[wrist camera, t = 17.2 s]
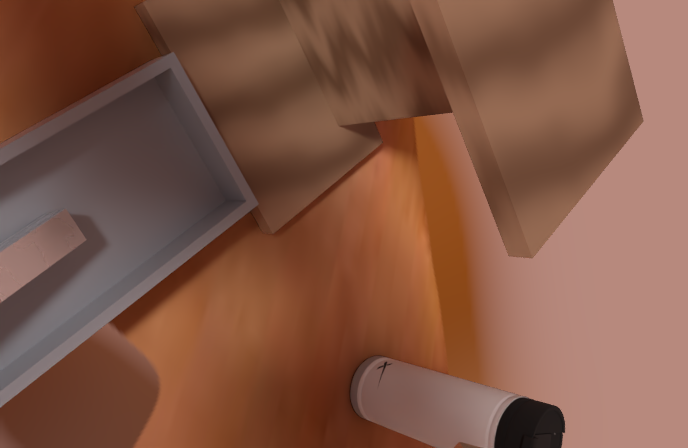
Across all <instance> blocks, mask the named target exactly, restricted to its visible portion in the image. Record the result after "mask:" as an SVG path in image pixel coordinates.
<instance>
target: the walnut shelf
mask: <svg viewBox="0 0 688 448" xmlns="http://www.w3.org/2000/svg"><path fill="white" fill-rule="evenodd" d="M134 8H135V9H136V11H137V13H138V15H139V16H140V18H141V20H142V22H143V23H144V25H145V27H146V29H147V30H148V32H149V34H150V36H151V37H152V39H153V41H154V43H155V44H156V46H157V48H158V50H159V51H160V53H161V55H162V56H164V55H167V54H169V53H172V52H174V53H175V55H176V57H177V59H178V60H179V62H180V64H181V66H182V68H183V69H184V71H185V73H186V75H187V77H188V78H189V80H190V82H191V84H192V85H193V87H194V89H195V91H196V93H197V94H198V96H199V98H200V100H201V102H202V103H203V105H204V107H205V109H206V110H207V112H208V114H209V116H210V118H211V119H212V121H213V123H214V125H215V127H216V128H217V130H218V132H219V134H220V135H221V137H222V139H223V141H224V143H225V144H226V146H227V148H228V150H229V151H230V153H231V155H232V157H233V159H234V160H235V162H236V164H237V166H238V168H239V169H240V171H241V173H242V175H243V176H244V178H245V180H246V182H247V184H248V185H249V187H250V189H251V191H252V193H253V194H254V196H255V198H256V200H257V201H258V203H259V204H258V205H257V206H256V207H255V208H253V209H252V210H251V213H252V215H253V216H254V218H255V220H256V222H257V223H258V225H259V227H260V229H261V231H262V232H263V233H266V234H274V233H275V232H276V231H278V230H279V229H280V228H281V227H282V226H283V225H285V224H286V223H287V222H288V221H289V220H291V219H292V218H293V217H294V216H295V215H297V214H298V213H299V212H300V211H301V210H303V209H304V208H305V207H306V206H307V205H309V204H310V203H311V202H312V201H313V200H315V199H316V198H317V197H318V196H319V195H321V194H322V193H323V192H324V191H325V190H327V189H328V188H329V187H330V186H331V185H333V184H334V183H335V182H336V181H337V180H339V179H340V178H341V177H342V176H343V175H345V174H346V173H347V172H348V171H349V170H351V169H352V168H353V167H354V166H355V165H357V164H358V163H359V162H360V161H361V160H363V159H364V158H365V157H366V156H367V155H369V154H370V153H371V152H372V151H373V150H375V149H376V148H377V147H378V146H379V145H381V144H382V143H383V141H382V139H381V136H380V134H379V132H378V130H377V127H376V125H375V123H374V122H376V121H384V120H393V119H401V118H410V117H417V116H427V115H435V114H443V113H452V112H453V113H454V116H455V119H456V121H457V124H458V126H459V129H460V131H461V134H462V136H463V139H464V142H465V144H466V147H467V150H468V152H469V155H470V157H471V160H472V162H473V165H474V167H475V170H476V173H477V175H478V178H479V181H480V183H481V186H482V188H483V191H484V193H485V196H486V198H487V201H488V204H489V206H490V209H491V211H492V214H493V217H494V219H495V222H496V224H497V227H498V230H499V232H500V235H501V237H502V240H503V242H504V245H505V247H506V250H507V253H508V255H509V256H513V257H525V258H533V257H534V256H535V255H536V253H537V252H538V251H539V249H540V248H541V247H542V246H543V245H544V243H545V242H546V241H547V240H548V238H549V237H550V236H551V235H552V233H553V232H554V231H555V230H556V229H557V227H558V226H559V225H560V223H561V222H562V221H563V220H564V219H565V218H566V216H567V215H568V214H569V213H570V211H571V210H572V209H573V208H574V206H575V205H576V204H577V203H578V201H579V200H580V199H581V198H582V197H583V195H584V194H585V193H586V191H587V190H588V189H589V188H590V187H591V185H592V184H593V183H594V182H595V180H596V179H597V178H598V177H599V176H600V174H601V173H602V171H604V169H605V168H606V167H607V166H608V164H609V163H610V162H611V161H612V159H613V158H614V157H615V156H616V154H617V153H618V152H619V151H620V150H621V148H622V147H623V146H624V144H625V143H626V142H627V141H628V139H629V138H630V137H631V136H632V135H633V133H634V132H635V131H636V130H637V128H638V127H639V126H640V125H641V124H642V122H643V118H642V114H641V109H640V105H639V101H638V98H637V94H636V90H635V86H634V82H633V78H632V74H631V70H630V66H629V63H628V59H627V55H626V51H625V47H624V43H623V39H622V35H621V31H620V27H619V24H618V19H617V16H616V12H615V8H614V4H613V0H146V1H144V2H142V3H140V4H139V5H137V6H135V7H134Z"/></svg>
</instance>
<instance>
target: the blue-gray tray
mask: <svg viewBox="0 0 688 448" xmlns="http://www.w3.org/2000/svg"><path fill="white" fill-rule="evenodd" d="M258 204H259V203H258V201H257V200H256V198H255V196H254V194H253V193H252V191H251V189H250V187H249V185H248V184H247V182H246V180H245V178H244V176H243V175H242V173H241V171H240V169H239V168H238V166H237V164H236V162H235V160H234V159H233V157H232V155H231V153H230V151H229V150H228V148H227V146H226V144H225V143H224V141H223V139H222V137H221V135H220V134H219V132H218V130H217V128H216V127H215V125H214V123H213V121H212V119H211V118H210V116H209V114H208V112H207V110H206V109H205V107H204V105H203V103H202V102H201V100H200V98H199V96H198V94H197V93H196V91H195V89H194V87H193V85H192V84H191V82H190V80H189V78H188V77H187V75H186V73H185V71H184V69H183V68H182V66H181V64H180V62H179V60H178V59H177V57H176V55H175V53H174V52H172V53H169V54H167V55H164V56H161V57H159V58H156V59H153V60H150V61H149V62H147V63H145V64H143V65H141V66H140V67H138V68H136V69H134V70H132V71H131V72H129V73H127V74H125V75H123V76H122V77H120V78H118V79H116V80H114V81H112V82H111V83H109V84H107V85H105V86H103V87H102V88H100V89H98V90H96V91H94V92H93V93H91V94H89V95H87V96H85V97H84V98H82V99H80V100H78V101H76V102H75V103H73V104H71V105H69V106H67V107H65V108H64V109H62V110H60V111H58V112H56V113H55V114H53V115H51V116H49V117H47V118H46V119H44V120H42V121H40V122H38V123H37V124H35V125H33V126H31V127H29V128H28V129H26V130H24V131H22V132H20V133H18V134H17V135H15V136H13V137H11V138H9V139H8V140H6V141H4V142H2V143H0V243H1V242H3V241H4V240H6V239H7V238H9V237H11V236H12V235H14V234H15V233H17V232H18V231H20V230H21V229H23V228H24V227H26V226H27V225H29V224H30V223H32V222H33V221H35V220H36V219H38V218H39V217H41V216H43V215H44V214H46V213H47V212H50V211H56V210H61V209H66V210H67V211H68V213H69V214H70V216H71V217H72V219H73V220H74V222H75V223H76V225H77V226H78V228H79V229H80V230H81V232H82V233H83V235H84V236H85V238H86V239H87V240H86V241H85V242H83V243H82V244H80V245H79V246H78V247H76V248H75V249H74V250H72V251H71V252H69V253H68V254H67V255H65V256H64V257H63V258H61V259H60V260H58V261H57V262H56V263H54V264H53V265H52V266H50V267H49V268H48V269H46V270H45V271H43V272H42V273H41V274H39V275H38V276H37V277H35V278H34V279H32V280H31V281H30V282H28V283H27V284H26V285H24V286H23V287H21V288H20V289H19V290H17V291H16V292H15V293H13V294H12V295H10V296H9V297H8V298H6V299H5V300H4V301H2V302H1V303H0V407H2V406H3V405H4V404H5V403H7V402H8V401H9V400H10V399H12V398H13V397H14V396H15V395H17V394H18V393H19V392H21V391H22V390H23V389H24V388H26V387H27V386H28V385H30V384H31V383H32V382H33V381H35V380H36V379H37V378H38V377H39V376H41V375H42V374H43V373H45V372H46V371H47V370H49V369H50V368H51V367H52V366H54V365H55V364H56V363H57V362H59V361H60V360H61V359H63V358H64V357H65V356H66V355H67V354H69V353H70V352H71V351H73V350H74V349H75V348H77V347H78V346H79V345H80V344H82V343H83V342H84V341H86V340H87V339H88V338H89V337H90V336H92V335H93V334H94V333H96V332H97V331H98V330H99V329H101V328H102V327H103V326H105V325H106V324H107V323H108V322H110V321H111V320H112V319H113V318H115V317H116V316H117V315H119V314H120V313H121V312H122V311H124V310H125V309H126V308H127V307H129V306H130V305H131V304H133V303H134V302H135V301H136V300H138V299H139V298H140V297H141V296H143V295H144V294H145V293H147V292H148V291H149V290H150V289H152V288H153V287H154V286H155V285H157V284H158V283H159V282H161V281H162V280H163V279H164V278H166V277H167V276H168V275H169V274H171V273H172V272H173V271H175V270H176V269H177V268H178V267H180V266H181V265H182V264H183V263H185V262H186V261H187V260H189V259H190V258H191V257H192V256H194V255H195V254H196V253H197V252H199V251H200V250H201V249H203V248H204V247H205V246H206V245H208V244H209V243H210V242H211V241H213V240H214V239H215V238H216V237H218V236H219V235H220V234H222V233H223V232H224V231H225V230H227V229H228V228H229V227H230V226H232V225H233V224H234V223H236V222H237V221H238V220H239V219H241V218H242V217H243V216H244V215H246V214H247V213H248V212H250V211H251V210H252V209H253V208H255V207H256V206H257V205H258Z"/></svg>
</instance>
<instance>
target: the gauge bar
mask: <svg viewBox="0 0 688 448" xmlns="http://www.w3.org/2000/svg"><path fill="white" fill-rule="evenodd" d="M86 240H87V239H86V238H85V236H84V235H83V233H82V232H81V230H80V229H79V228H78V226H77V225H76V223H75V222H74V220H73V219H72V217H71V216H70V214H69V213H68V211H67V210H66V209H61V210H56V211H50V212H47V213H46V214H44V215H43V216H41V217H39V218H38V219H36V220H35V221H33V222H32V223H30V224H29V225H27V226H26V227H24V228H23V229H21V230H20V231H18V232H17V233H15V234H14V235H12V236H11V237H9V238H7V239H6V240H4V241H3V242H1V243H0V303H1V302H2V301H4V300H5V299H6V298H8V297H9V296H10V295H12V294H13V293H15V292H16V291H17V290H19V289H20V288H21V287H23V286H24V285H26V284H27V283H28V282H30V281H31V280H32V279H34V278H35V277H37V276H38V275H39V274H41V273H42V272H43V271H45V270H46V269H48V268H49V267H50V266H52V265H53V264H54V263H56V262H57V261H58V260H60V259H61V258H63V257H64V256H65V255H67V254H68V253H69V252H71V251H72V250H74V249H75V248H76V247H78V246H79V245H80V244H82V243H83V242H85V241H86Z"/></svg>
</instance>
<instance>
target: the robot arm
mask: <svg viewBox="0 0 688 448" xmlns="http://www.w3.org/2000/svg"><path fill="white" fill-rule="evenodd" d="M454 448H482V447H478V446H474V445H470V444H466V443H463V442H459V443H458V444H457V445H455V447H454Z"/></svg>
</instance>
